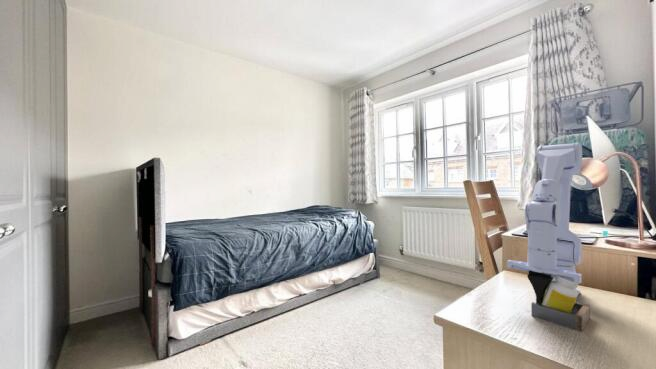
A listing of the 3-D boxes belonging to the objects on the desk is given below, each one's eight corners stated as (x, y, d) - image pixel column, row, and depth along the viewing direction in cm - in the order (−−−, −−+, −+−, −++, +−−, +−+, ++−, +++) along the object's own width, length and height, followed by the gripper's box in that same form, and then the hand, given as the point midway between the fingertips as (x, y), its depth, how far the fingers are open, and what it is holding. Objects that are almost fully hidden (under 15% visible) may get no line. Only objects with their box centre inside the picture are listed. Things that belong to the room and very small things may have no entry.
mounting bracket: (542, 304, 71) (542, 293, 71) (589, 318, 64) (589, 305, 64) (531, 315, 65) (531, 303, 65) (581, 331, 58) (581, 317, 58)
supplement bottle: (573, 324, 62) (589, 287, 60) (548, 318, 63) (563, 281, 61) (557, 308, 67) (571, 274, 65) (534, 303, 68) (548, 269, 66)
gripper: (502, 245, 70) (501, 297, 70) (576, 257, 59) (575, 319, 59) (513, 242, 75) (511, 291, 74) (583, 253, 63) (582, 311, 63)
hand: (540, 303), depth 67 cm, fingers closed, pressing on supplement bottle
